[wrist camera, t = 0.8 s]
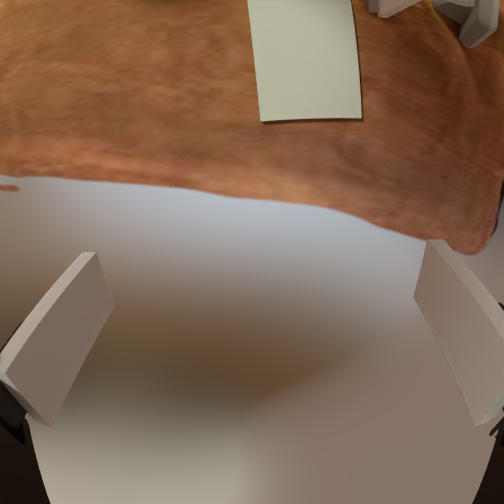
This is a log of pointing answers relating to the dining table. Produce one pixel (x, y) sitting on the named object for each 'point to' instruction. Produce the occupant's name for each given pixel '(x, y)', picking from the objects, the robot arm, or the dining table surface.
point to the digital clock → (471, 18)
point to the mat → (305, 59)
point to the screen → (388, 6)
